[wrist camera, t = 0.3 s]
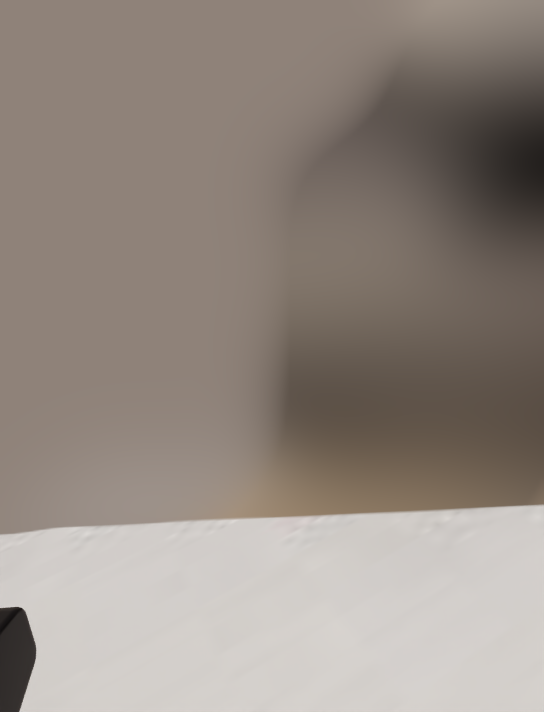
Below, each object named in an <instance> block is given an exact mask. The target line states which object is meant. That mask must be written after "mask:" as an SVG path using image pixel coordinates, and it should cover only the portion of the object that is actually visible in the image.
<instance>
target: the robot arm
mask: <svg viewBox="0 0 544 712" xmlns="http://www.w3.org/2000/svg"><path fill="white" fill-rule="evenodd" d="M35 659H36V645H35V641H34V638H33V635H32V631H31V628H30V625H29V621H28V618H27V615H26V612H25V611H24V610H23V609H22V608H20V607H10V608H0V712H19V711H20V708H21V705H22V702H23V698H24V695H25V692H26V689H27V686H28V683H29V679H30V676H31V673H32V670H33V667H34V663H35Z"/></svg>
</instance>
